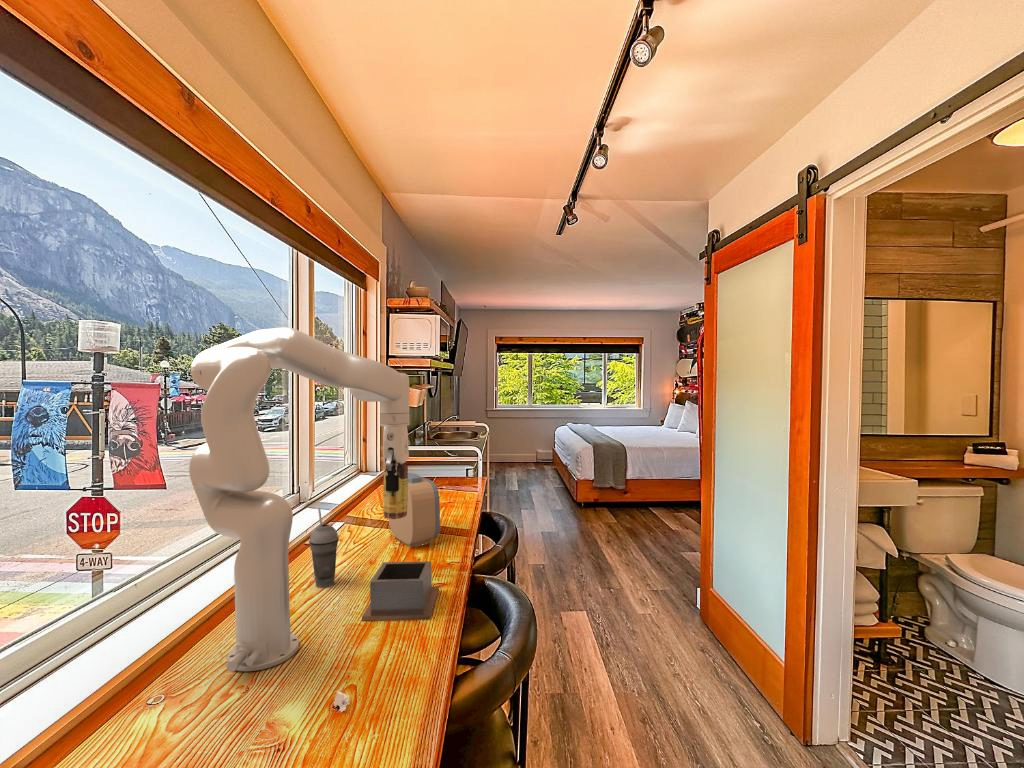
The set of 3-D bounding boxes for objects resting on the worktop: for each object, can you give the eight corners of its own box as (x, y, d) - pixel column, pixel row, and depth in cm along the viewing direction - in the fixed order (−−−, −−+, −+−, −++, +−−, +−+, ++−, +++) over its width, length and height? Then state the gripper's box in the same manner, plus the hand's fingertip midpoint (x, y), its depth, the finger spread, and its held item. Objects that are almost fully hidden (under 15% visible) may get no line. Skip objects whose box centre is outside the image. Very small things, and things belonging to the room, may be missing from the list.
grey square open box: (429, 619, 111) (429, 583, 111) (361, 620, 111) (361, 585, 111) (439, 590, 126) (438, 558, 126) (379, 591, 126) (378, 560, 126)
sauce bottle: (378, 517, 132) (378, 441, 132) (398, 512, 137) (398, 439, 137) (392, 521, 128) (392, 442, 128) (413, 516, 132) (412, 440, 132)
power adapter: (331, 711, 82) (330, 692, 82) (344, 702, 84) (344, 684, 84) (343, 718, 80) (343, 698, 80) (356, 709, 82) (356, 690, 82)
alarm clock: (441, 546, 160) (439, 478, 160) (413, 552, 155) (411, 482, 154) (415, 530, 177) (413, 469, 177) (388, 535, 172) (387, 472, 171)
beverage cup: (329, 591, 127) (328, 512, 127) (304, 589, 129) (302, 511, 128) (345, 579, 134) (343, 505, 134) (320, 577, 136) (318, 504, 136)
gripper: (402, 422, 123) (403, 495, 123) (415, 417, 141) (415, 481, 141) (371, 422, 123) (372, 495, 123) (388, 417, 141) (388, 482, 141)
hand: (395, 487), depth 132 cm, fingers closed on sauce bottle, 6 cm apart
